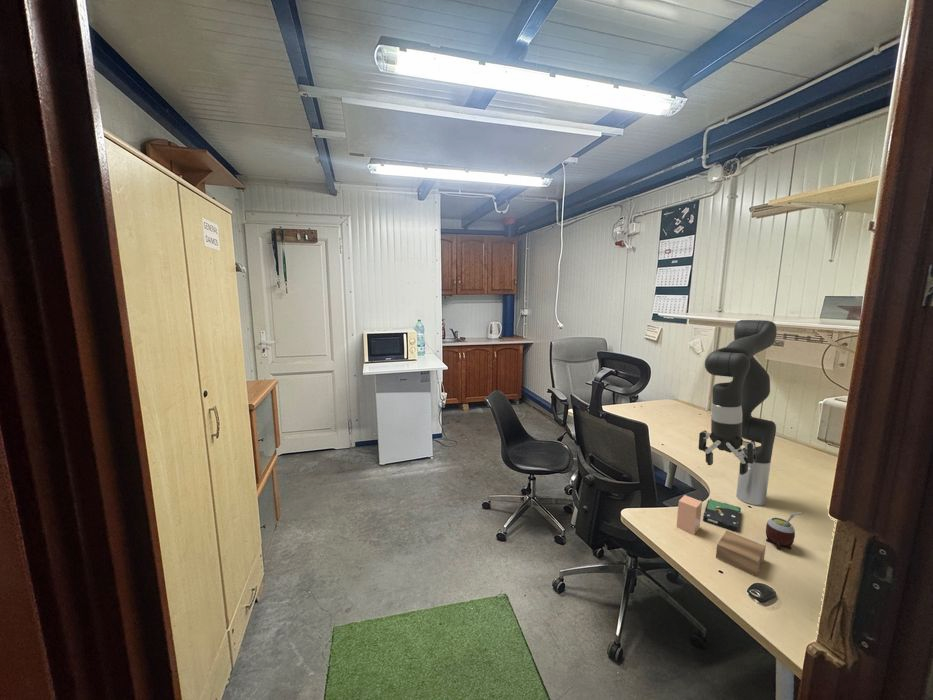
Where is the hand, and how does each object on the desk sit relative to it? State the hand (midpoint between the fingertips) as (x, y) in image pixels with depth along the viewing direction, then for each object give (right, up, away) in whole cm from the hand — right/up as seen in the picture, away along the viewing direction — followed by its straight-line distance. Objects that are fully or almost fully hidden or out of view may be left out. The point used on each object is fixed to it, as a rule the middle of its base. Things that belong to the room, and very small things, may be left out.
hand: (725, 469), depth 110 cm
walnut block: (+5, -29, +1) cm, 29 cm away
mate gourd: (+23, -27, +7) cm, 36 cm away
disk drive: (+15, -26, +22) cm, 37 cm away
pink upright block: (-1, -26, +17) cm, 31 cm away
